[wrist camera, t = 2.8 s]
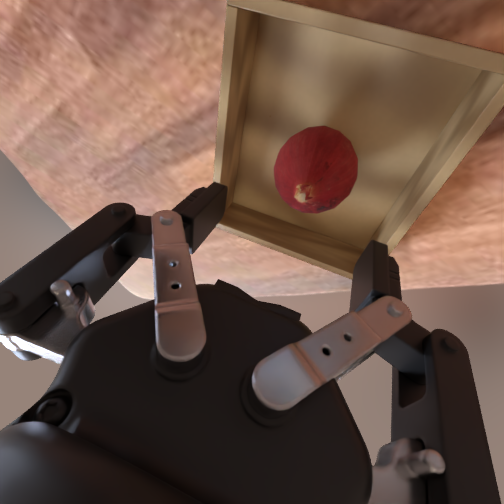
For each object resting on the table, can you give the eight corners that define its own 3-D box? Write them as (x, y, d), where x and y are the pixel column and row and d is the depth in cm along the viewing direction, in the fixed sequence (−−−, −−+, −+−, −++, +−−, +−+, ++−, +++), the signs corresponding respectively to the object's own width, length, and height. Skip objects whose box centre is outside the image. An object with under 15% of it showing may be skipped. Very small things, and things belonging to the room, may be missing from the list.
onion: (370, 171, 21) (368, 225, 15) (305, 196, 24) (283, 248, 18) (344, 98, 18) (330, 131, 13) (275, 137, 22) (240, 176, 16)
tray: (254, -7, 17) (227, -14, 14) (504, 55, 15) (538, 62, 12) (227, 203, 28) (209, 225, 25) (367, 255, 26) (365, 285, 23)
